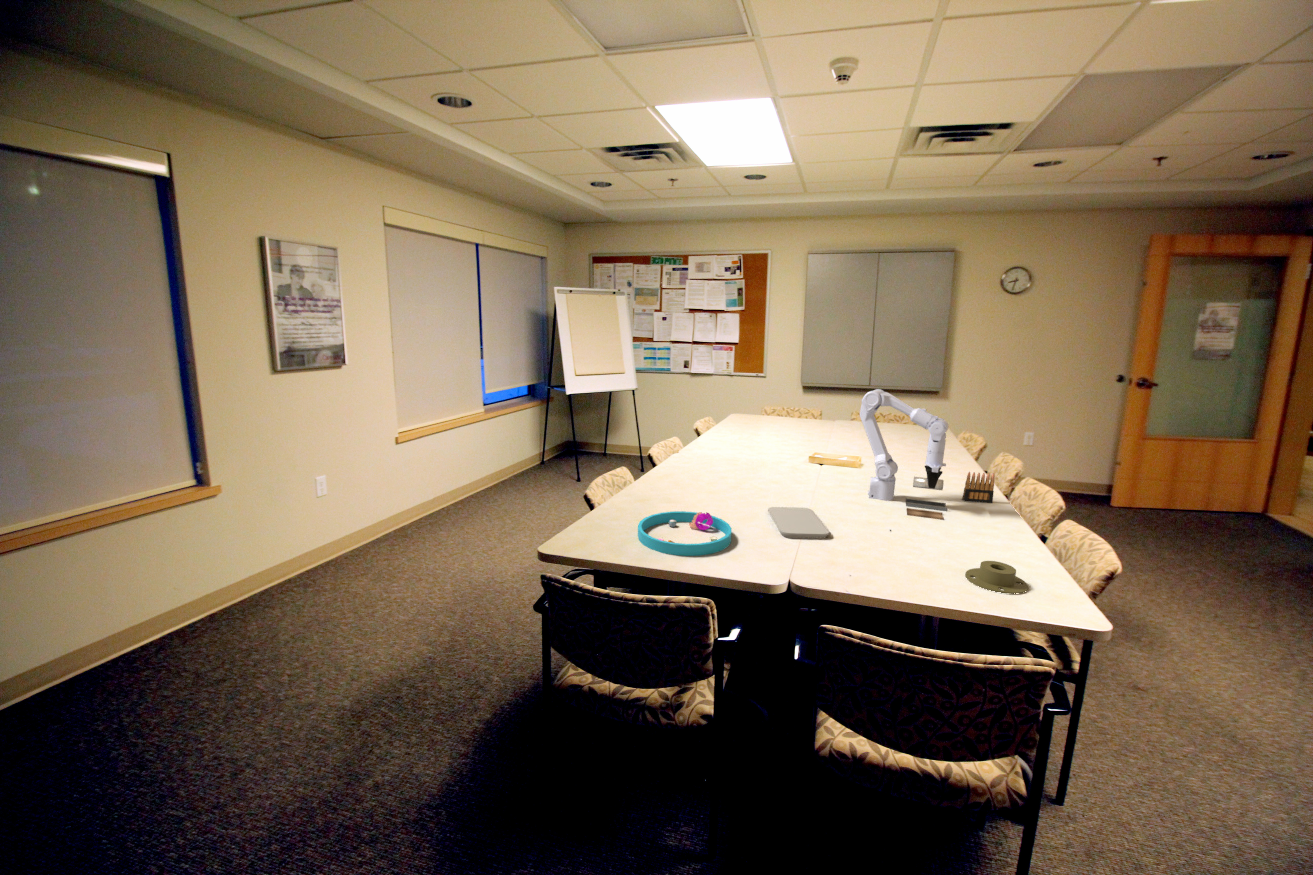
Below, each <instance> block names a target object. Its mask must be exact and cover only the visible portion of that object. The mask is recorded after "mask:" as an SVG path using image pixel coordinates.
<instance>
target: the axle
mask: <svg viewBox="0 0 1313 875" xmlns="http://www.w3.org/2000/svg"><path fill="white" fill-rule="evenodd" d="M944 481H945V480H944V479H938V481H937V484H936V487H935V489H934V488H929V487H928V478H927V477H920V476H913V480H912V488H917V489H918V488H919V489H929V490H935V491H943V490H944Z"/></svg>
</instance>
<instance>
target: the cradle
mask: <svg viewBox="0 0 1313 875" xmlns="http://www.w3.org/2000/svg"><path fill="white" fill-rule="evenodd" d="M946 505H947V503H946V502H942V501H941V502H940V501H931V500H924V499H915V498H906V497H905V506H906V507H907V508H915V509H917V508H918V509H923V510H935V511H939V512H940V511H941V512H947V511H948V507H947V506H946Z"/></svg>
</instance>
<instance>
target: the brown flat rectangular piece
mask: <svg viewBox="0 0 1313 875" xmlns="http://www.w3.org/2000/svg"><path fill="white" fill-rule="evenodd" d="M905 510H906V516H910V517H911V516H912V517H918V518H924V519H926V518H927V519H932V520H941V521H945V520H944V519H945V517H944V515H943V511H941V512H940V511H931V510H927V509H919V508H918V509H917V508H912V507H906V509H905Z"/></svg>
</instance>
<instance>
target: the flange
mask: <svg viewBox="0 0 1313 875" xmlns="http://www.w3.org/2000/svg"><path fill="white" fill-rule="evenodd" d="M979 565H980V566H979V567H975V568H970V569H968V570H966V571H965V579H966V578H967V579H966V580H967V581H968V582H969V583H971V584H972V583H973V584H972V585H974V586H977V587H978V586H979V587H978V588H980V587H981V588H980V589H983V588H984V589H983V590H986V589H987V590H986V591H989V590H991V591H990V592H992V591H995V592H994V593H997V592H1001V593H1000V594H1002V593H1013V594H1012V595H1017V594H1016V593H1023V592H1025V591H1027V590H1028V591H1029V585H1028V583H1027V582H1026V581H1025V580H1024V579H1022V578H1020V577H1018V576H1016V574H1017V569H1016V568H1015V567H1014V566H1012V565H1010V564H1007V563H1004V562H1001V561H995V560H984V561H981V562H980V564H979ZM974 577H975V578H974ZM1019 583H1021V584H1019ZM999 588H1000V589H999ZM1028 591H1027V592H1028ZM1014 593H1015V594H1014ZM1025 593H1026V592H1025ZM1023 594H1024V593H1023Z"/></svg>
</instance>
